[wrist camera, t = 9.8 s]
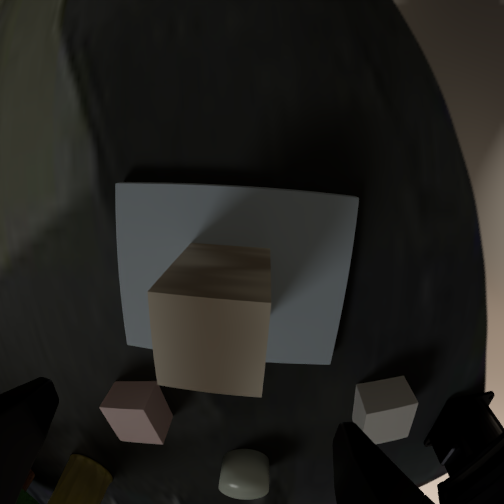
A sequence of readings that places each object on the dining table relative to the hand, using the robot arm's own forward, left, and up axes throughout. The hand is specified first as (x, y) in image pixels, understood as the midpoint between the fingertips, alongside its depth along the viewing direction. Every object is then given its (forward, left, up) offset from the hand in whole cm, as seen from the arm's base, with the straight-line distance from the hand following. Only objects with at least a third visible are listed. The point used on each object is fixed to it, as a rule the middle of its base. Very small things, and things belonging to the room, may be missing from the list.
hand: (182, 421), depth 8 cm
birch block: (0, 0, -11) cm, 11 cm away
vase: (+17, +28, -12) cm, 35 cm away
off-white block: (-12, +10, -12) cm, 20 cm away
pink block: (+7, +12, -12) cm, 18 cm away
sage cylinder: (-2, +19, -12) cm, 23 cm away
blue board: (0, 0, -12) cm, 12 cm away
